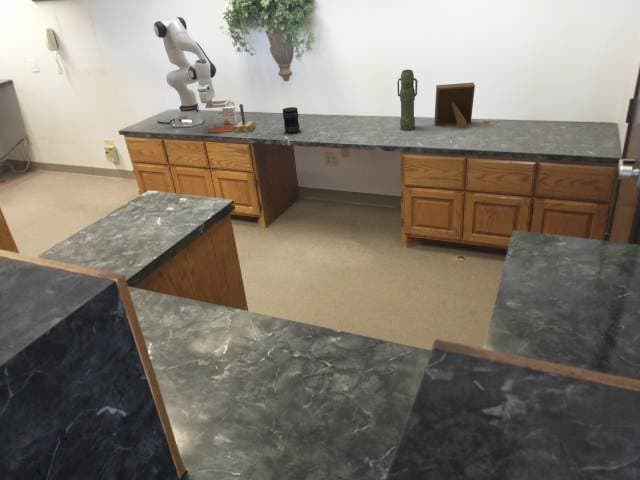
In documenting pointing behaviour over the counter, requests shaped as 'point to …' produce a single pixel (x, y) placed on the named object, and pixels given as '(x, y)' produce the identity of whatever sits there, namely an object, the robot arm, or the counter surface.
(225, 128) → the mat
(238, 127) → the stand
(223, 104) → the loop
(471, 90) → the photo frame
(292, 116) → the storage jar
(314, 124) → the counter surface
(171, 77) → the robot arm
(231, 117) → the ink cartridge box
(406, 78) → the thermos
